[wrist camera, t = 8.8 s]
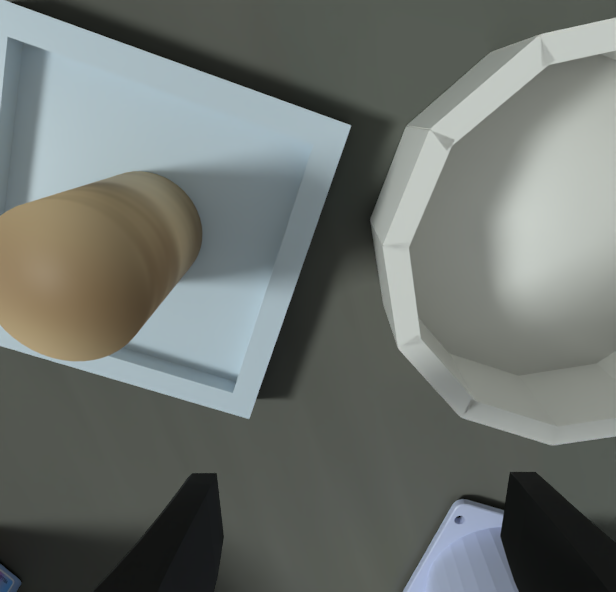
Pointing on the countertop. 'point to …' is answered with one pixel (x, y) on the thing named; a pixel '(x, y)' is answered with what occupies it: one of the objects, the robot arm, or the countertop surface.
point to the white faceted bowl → (511, 238)
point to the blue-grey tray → (183, 172)
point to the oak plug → (94, 263)
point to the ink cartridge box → (8, 580)
